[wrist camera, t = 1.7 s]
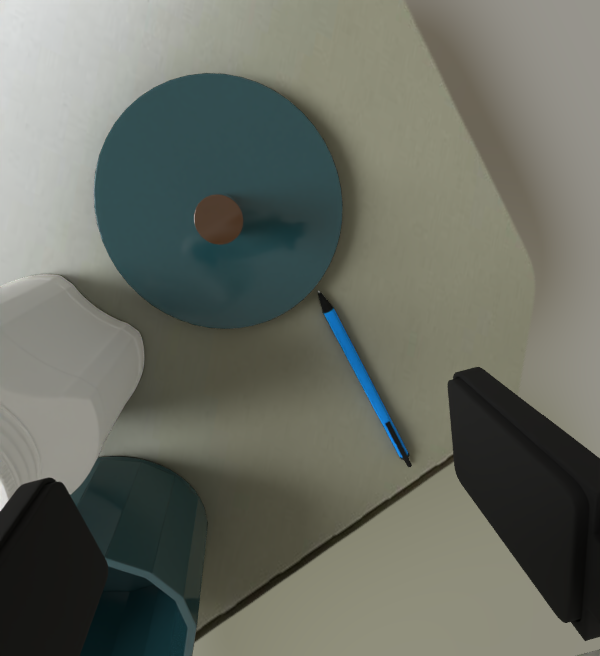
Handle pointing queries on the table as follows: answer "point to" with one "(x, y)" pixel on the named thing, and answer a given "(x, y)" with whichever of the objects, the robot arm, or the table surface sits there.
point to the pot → (144, 557)
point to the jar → (59, 381)
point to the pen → (363, 377)
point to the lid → (218, 200)
